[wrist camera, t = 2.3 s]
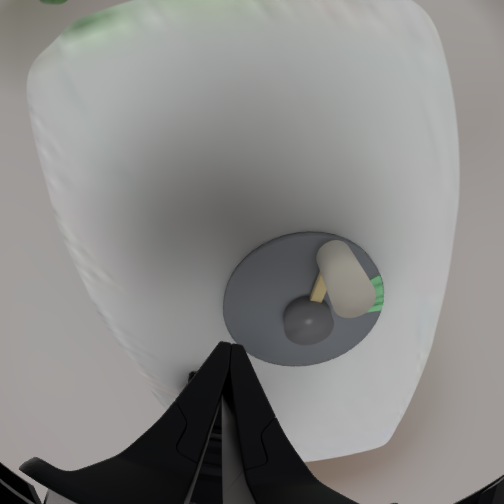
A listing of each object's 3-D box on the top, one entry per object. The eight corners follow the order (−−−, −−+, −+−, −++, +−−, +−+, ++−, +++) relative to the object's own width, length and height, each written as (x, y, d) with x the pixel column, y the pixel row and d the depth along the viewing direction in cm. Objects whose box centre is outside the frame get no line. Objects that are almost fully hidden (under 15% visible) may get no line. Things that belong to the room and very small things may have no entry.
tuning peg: (320, 335, 23) (331, 386, 18) (277, 329, 23) (280, 383, 18) (361, 242, 19) (392, 286, 14) (311, 230, 19) (330, 274, 13)
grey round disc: (214, 347, 26) (213, 355, 25) (241, 213, 20) (240, 218, 18) (343, 364, 27) (345, 372, 26) (404, 252, 21) (410, 259, 19)
